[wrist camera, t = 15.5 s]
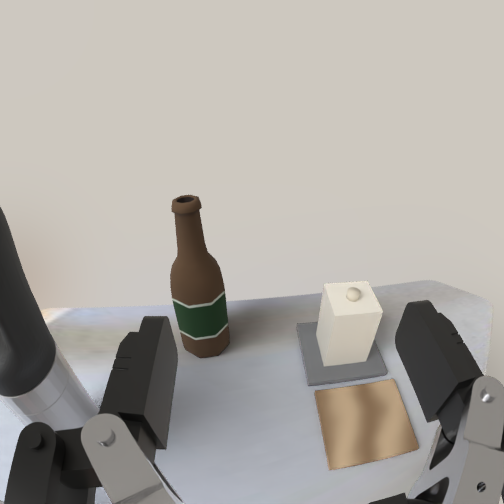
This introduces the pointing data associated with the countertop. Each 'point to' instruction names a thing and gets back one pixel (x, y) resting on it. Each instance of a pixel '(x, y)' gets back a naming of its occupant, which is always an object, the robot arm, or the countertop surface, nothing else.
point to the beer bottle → (197, 285)
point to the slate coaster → (335, 373)
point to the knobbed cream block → (347, 322)
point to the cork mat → (364, 424)
